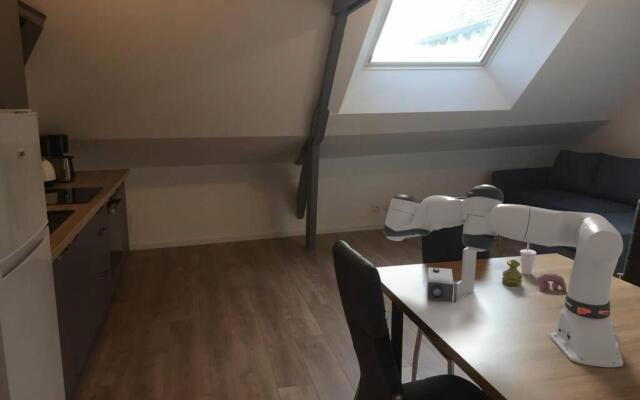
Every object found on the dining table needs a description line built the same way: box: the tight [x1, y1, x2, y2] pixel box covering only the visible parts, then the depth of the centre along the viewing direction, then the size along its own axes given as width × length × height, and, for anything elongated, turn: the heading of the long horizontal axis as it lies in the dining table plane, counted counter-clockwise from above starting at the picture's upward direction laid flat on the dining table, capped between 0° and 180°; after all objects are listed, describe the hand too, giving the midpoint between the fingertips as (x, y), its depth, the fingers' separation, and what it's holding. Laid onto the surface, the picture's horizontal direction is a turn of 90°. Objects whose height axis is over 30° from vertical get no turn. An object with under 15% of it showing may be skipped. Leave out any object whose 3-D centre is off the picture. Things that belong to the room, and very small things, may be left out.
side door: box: [452, 246, 478, 303], centre depth 183 cm, size 16×1×19 cm, turn 138°
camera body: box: [426, 266, 455, 303], centre depth 187 cm, size 18×9×8 cm, turn 168°
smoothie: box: [519, 242, 537, 276], centre depth 208 cm, size 6×6×14 cm
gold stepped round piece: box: [501, 259, 524, 288], centre depth 196 cm, size 7×7×10 cm
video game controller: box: [537, 273, 567, 293], centre depth 192 cm, size 10×5×7 cm, turn 85°
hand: (461, 222), depth 186 cm, fingers closed
